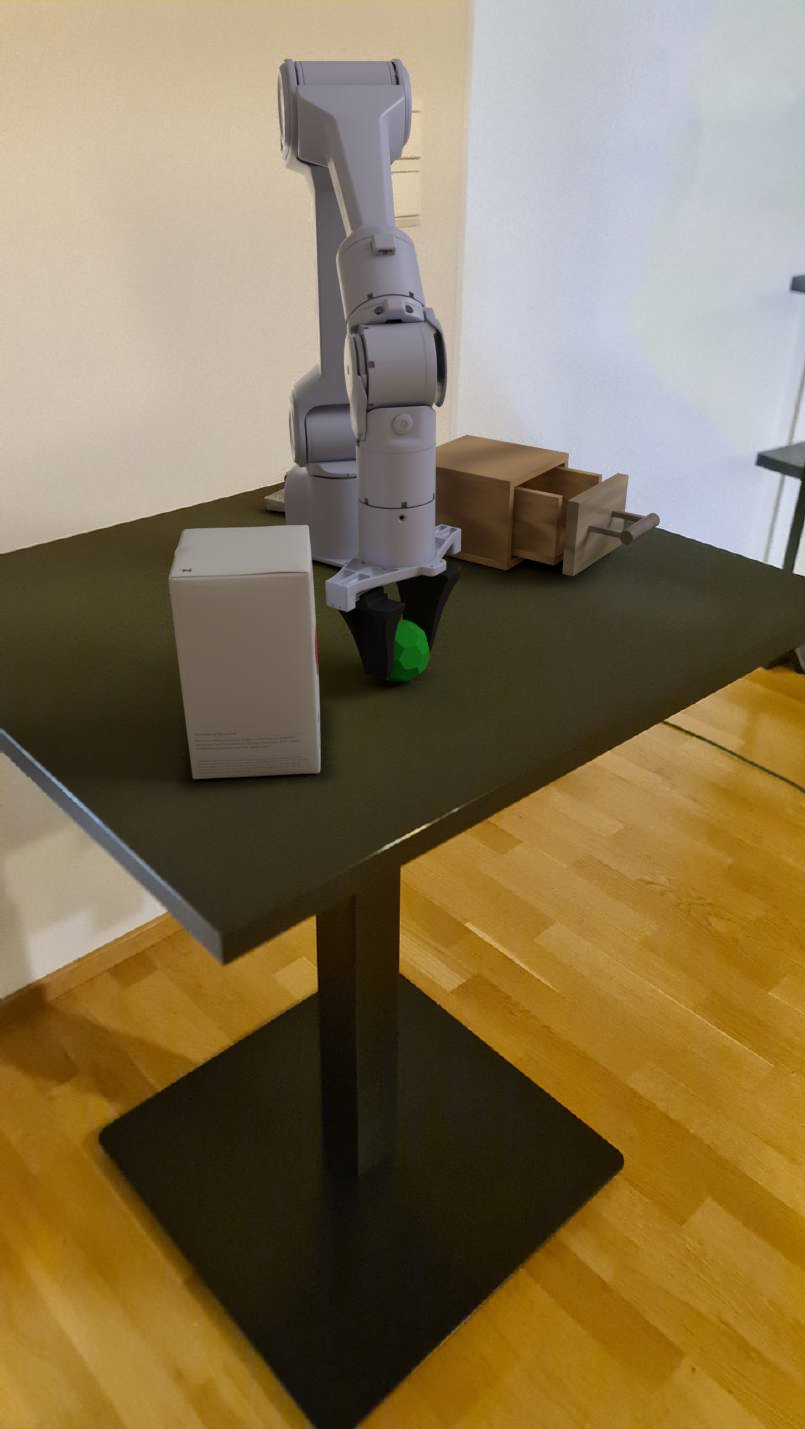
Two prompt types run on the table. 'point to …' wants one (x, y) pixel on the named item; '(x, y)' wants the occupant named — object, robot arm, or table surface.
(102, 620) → the table surface
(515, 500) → the drawer
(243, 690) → the rectangular carton
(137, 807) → the table surface
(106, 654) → the table surface
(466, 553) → the cabinet
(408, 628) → the polyhedron
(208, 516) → the table surface
